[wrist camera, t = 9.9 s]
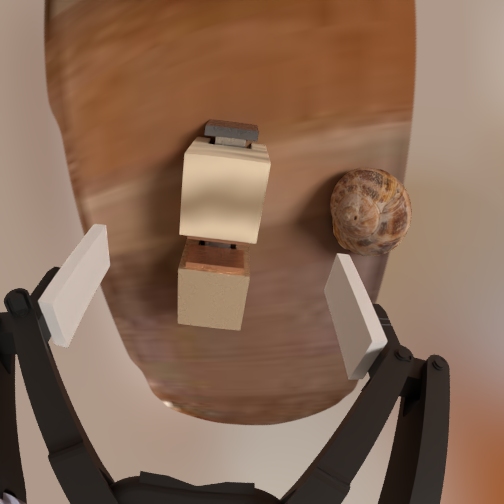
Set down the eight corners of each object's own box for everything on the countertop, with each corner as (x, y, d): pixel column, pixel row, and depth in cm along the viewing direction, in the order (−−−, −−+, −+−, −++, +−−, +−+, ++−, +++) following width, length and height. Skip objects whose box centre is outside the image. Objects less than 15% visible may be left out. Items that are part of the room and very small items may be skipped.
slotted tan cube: (197, 136, 32) (184, 153, 25) (265, 144, 32) (270, 163, 26) (190, 208, 36) (179, 239, 30) (253, 215, 37) (255, 248, 31)
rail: (198, 118, 31) (186, 130, 24) (268, 126, 31) (274, 140, 25) (186, 290, 43) (177, 329, 36) (239, 296, 43) (239, 336, 37)
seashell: (299, 226, 37) (346, 226, 27) (327, 163, 38) (377, 146, 28) (362, 263, 40) (414, 272, 30) (385, 204, 40) (438, 200, 31)
